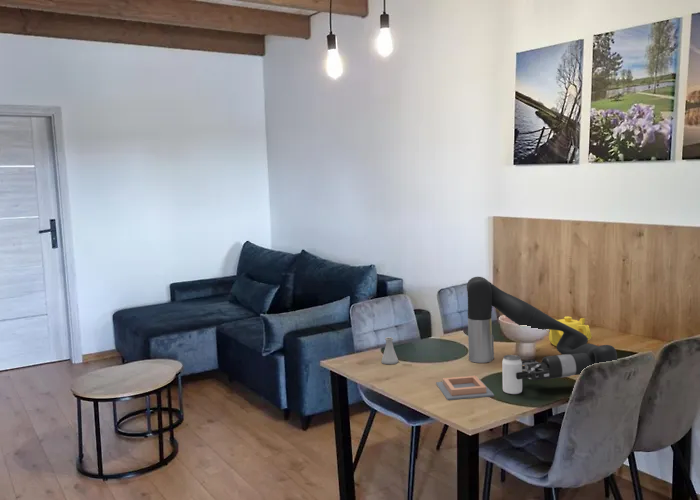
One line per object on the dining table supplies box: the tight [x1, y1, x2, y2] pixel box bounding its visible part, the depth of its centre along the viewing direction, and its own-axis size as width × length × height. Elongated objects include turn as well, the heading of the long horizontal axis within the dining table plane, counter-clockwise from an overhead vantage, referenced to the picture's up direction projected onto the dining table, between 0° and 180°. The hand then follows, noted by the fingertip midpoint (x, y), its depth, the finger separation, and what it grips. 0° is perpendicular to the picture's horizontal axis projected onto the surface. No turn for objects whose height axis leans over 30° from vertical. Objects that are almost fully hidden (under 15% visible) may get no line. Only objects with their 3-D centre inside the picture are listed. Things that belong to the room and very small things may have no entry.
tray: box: [435, 375, 495, 401], centre depth 210 cm, size 16×16×3 cm
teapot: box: [548, 315, 593, 348], centre depth 257 cm, size 17×17×12 cm
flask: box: [380, 336, 400, 365], centre depth 245 cm, size 7×7×10 cm
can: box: [501, 354, 523, 395], centre depth 206 cm, size 6×6×12 cm
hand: (512, 372), depth 205 cm, fingers open, 8 cm apart
